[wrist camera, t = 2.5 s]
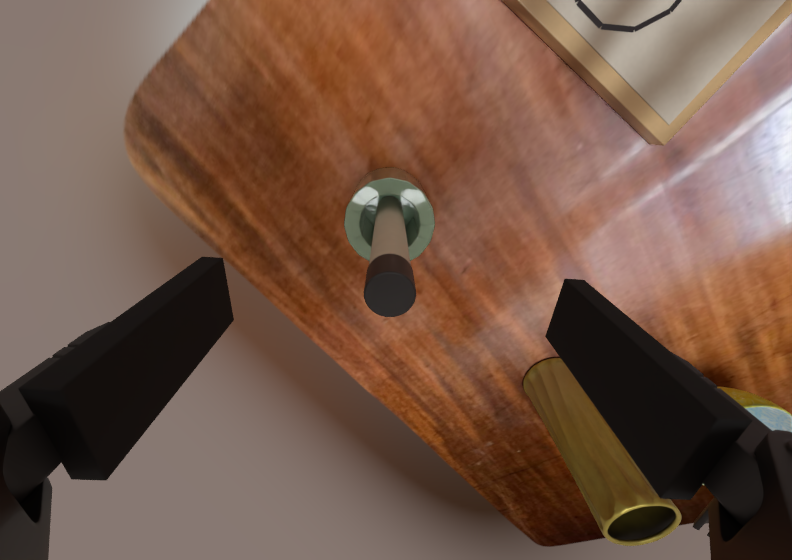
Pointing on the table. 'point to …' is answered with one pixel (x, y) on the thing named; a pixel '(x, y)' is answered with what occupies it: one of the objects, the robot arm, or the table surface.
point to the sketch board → (653, 50)
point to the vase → (598, 459)
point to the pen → (389, 263)
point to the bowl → (762, 409)
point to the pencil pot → (365, 207)
